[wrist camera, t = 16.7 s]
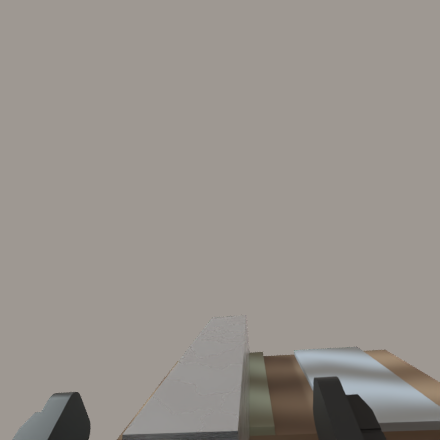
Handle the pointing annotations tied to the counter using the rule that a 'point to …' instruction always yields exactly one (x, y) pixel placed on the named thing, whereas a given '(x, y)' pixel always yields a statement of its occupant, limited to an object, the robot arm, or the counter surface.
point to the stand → (352, 384)
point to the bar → (202, 390)
